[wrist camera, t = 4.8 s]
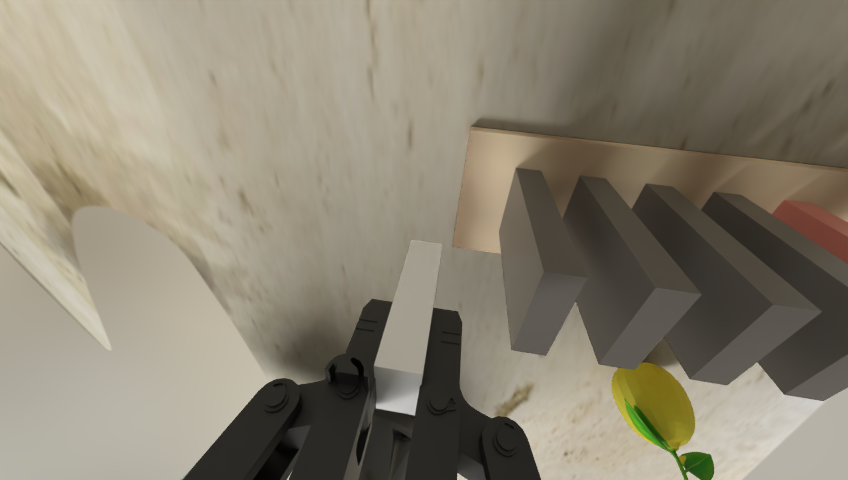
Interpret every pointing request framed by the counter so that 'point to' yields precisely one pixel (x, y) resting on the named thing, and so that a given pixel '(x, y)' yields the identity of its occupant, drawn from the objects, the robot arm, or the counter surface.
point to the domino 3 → (720, 291)
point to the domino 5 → (813, 278)
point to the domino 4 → (816, 226)
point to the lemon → (660, 413)
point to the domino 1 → (537, 264)
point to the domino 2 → (623, 276)
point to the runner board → (625, 177)
